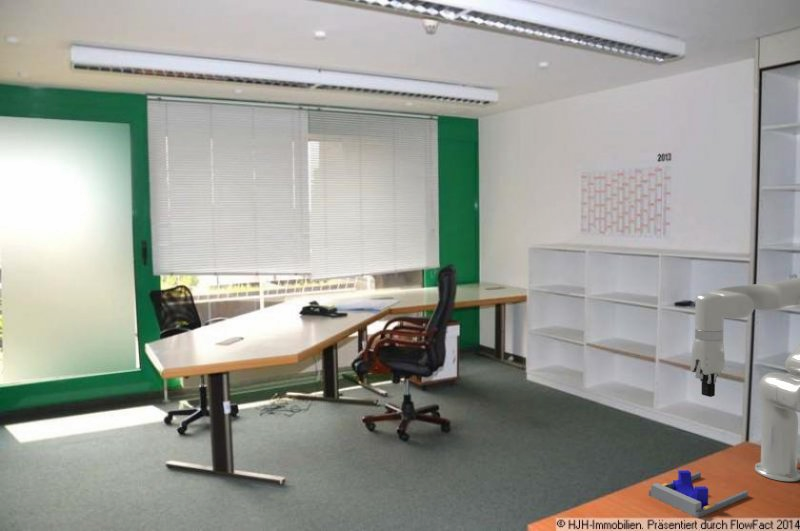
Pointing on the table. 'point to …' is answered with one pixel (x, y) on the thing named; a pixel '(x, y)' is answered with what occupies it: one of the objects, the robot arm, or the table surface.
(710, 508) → the u-shaped alignment fixture
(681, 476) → the cable clip
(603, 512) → the table surface
